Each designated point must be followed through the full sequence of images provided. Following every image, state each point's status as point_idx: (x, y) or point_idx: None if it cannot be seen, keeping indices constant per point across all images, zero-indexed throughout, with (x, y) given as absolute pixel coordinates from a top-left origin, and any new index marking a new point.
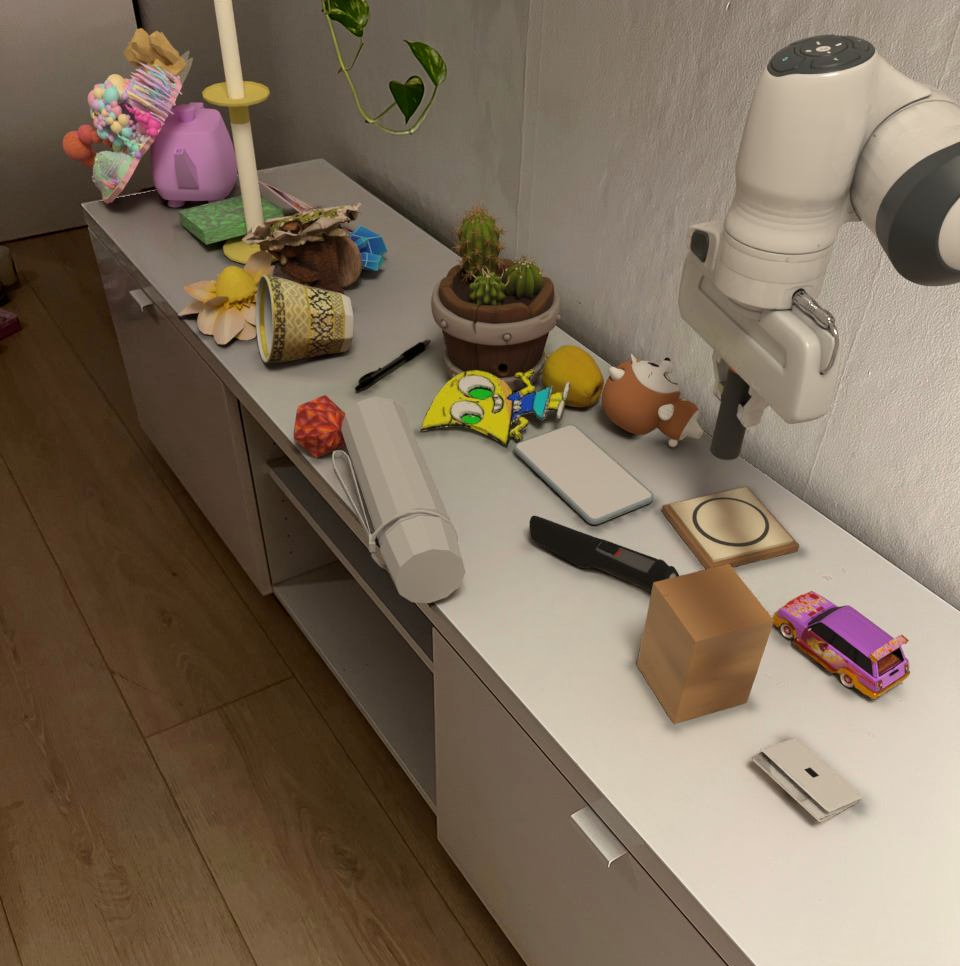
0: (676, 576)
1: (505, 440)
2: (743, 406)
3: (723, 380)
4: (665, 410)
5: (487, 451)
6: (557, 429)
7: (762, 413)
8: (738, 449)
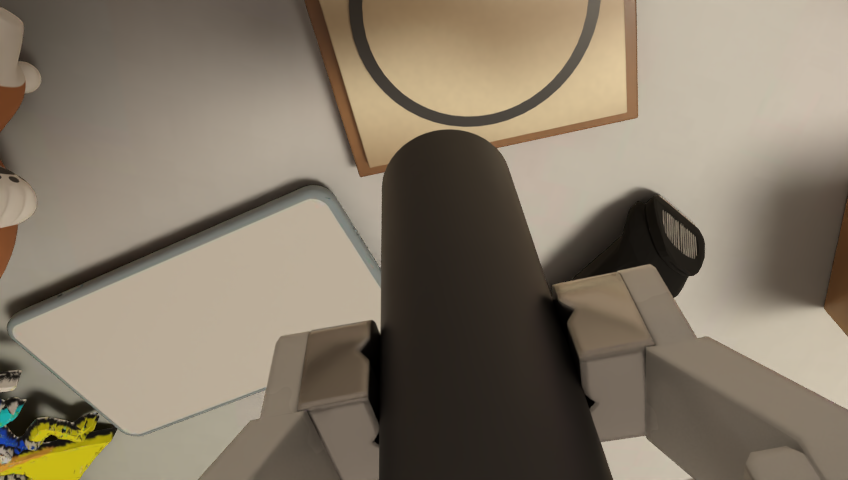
0: (662, 220)
1: (105, 440)
2: (632, 431)
3: (333, 476)
4: (6, 216)
5: (137, 452)
6: (41, 360)
7: (678, 308)
8: (510, 178)
